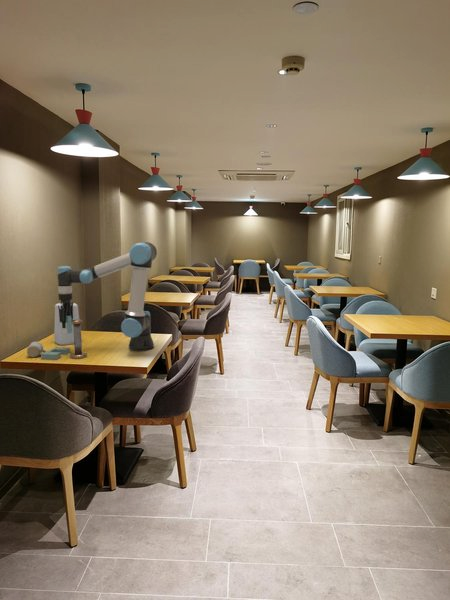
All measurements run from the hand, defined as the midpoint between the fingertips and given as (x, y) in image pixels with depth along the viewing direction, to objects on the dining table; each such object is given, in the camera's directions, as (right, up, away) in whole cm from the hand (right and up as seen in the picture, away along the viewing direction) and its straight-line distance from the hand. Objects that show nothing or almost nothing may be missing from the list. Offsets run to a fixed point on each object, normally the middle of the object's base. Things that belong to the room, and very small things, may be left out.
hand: (67, 332), depth 270 cm
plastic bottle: (-8, -8, +26) cm, 29 cm away
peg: (0, 0, 0) cm, 0 cm away
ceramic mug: (-15, -13, -6) cm, 21 cm away
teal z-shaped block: (-4, -13, -6) cm, 15 cm away
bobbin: (+9, -13, -9) cm, 18 cm away
